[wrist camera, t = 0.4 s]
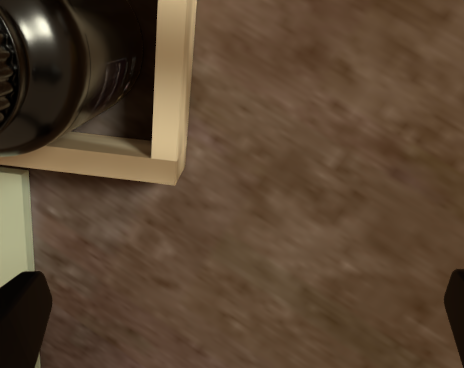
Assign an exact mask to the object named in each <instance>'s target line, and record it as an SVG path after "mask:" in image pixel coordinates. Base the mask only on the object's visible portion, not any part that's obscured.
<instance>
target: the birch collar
mask: <svg viewBox="0 0 464 368" xmlns="http://www.w3.org/2000/svg"><path fill="white" fill-rule="evenodd" d="M196 5H197V0H158V11H157V35H156V58H155V82H154V105H153V128H152V141H147V140H138V139H130V138H121V137H113V136H104V135H96V134H87V133H79V132H68V133H67V134H65V135H63V136H62V137H60V138H58V139H57V140H55V141H53V142H52V143H50V144H48V145H46V146H44V147H42V148H40V149H37V150H35V151H32V152H29V153H26V154H22V155H16V156H8V157H0V165H9V166H17V167H25V168H34V169H42V170H51V171H59V172H68V173H76V174H84V175H93V176H101V177H110V178H118V179H126V180H135V181H143V182H152V183H160V184H168V185H175V184H176V183H177V181H178V179H179V177H180V175H181V173H182V171H183V169H184V167H185V159H186V145H187V131H188V117H189V103H190V89H191V75H192V61H193V47H194V33H195V19H196Z"/></svg>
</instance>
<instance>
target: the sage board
mask: <svg viewBox="0 0 464 368" xmlns="http://www.w3.org/2000/svg"><path fill="white" fill-rule="evenodd" d="M24 271H35V268H34V251H33V234H32V218H31V201H30V184H29V170H22V169H14V168H5V167H0V287H2V286H3V285H4V284H6V283H7V282H9V281H10V280H11V279H13V278H14V277H15V276H17V275H18V274H20V273H21V272H24ZM35 368H40V352H39V355H38V359H37V362H36V366H35Z"/></svg>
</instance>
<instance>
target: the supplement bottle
mask: <svg viewBox="0 0 464 368" xmlns="http://www.w3.org/2000/svg"><path fill="white" fill-rule="evenodd" d="M142 60H143V39H142V33H141V29H140V26H139V23H138V20H137V18H136V15H135V13H134V11H133V9H132V8H131V6H130V5H129V3H128V2H127V0H0V157H8V156H16V155H22V154H26V153H29V152H32V151H35V150H37V149H40V148H42V147H44V146H46V145H48V144H50V143H52V142H53V141H55V140H57V139H58V138H60V137H62V136H63V135H65V134H67V133H68V132H70V131H72V130H73V129H75V128H77V127H78V126H80V125H82V124H83V123H85V122H87V121H88V120H90V119H92V118H93V117H95V116H97V115H98V114H100V113H102V112H103V111H105V110H107V109H108V108H110V107H111V106H113V105H114V104H116V103H117V102H119V101H120V100H121V99H122V98H123V97H124V96H125V95H126V94H127V93H128V92H129V91H130V89H131V88H132V87H133V85H134V83H135V82H136V80H137V78H138V75H139V72H140V69H141V65H142Z"/></svg>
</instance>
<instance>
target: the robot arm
mask: <svg viewBox="0 0 464 368" xmlns="http://www.w3.org/2000/svg"><path fill="white" fill-rule="evenodd" d="M444 305H445V309H446V312H447V316H448V319H449V322H450V325H451V329H452V332H453V335H454V339H455V342H456V345H457V349H458V352H459V355H460V359H461V362H462V365H463V368H464V269H456V270H454V271H453V272H452V274H451V277H450V280H449V283H448V286H447V289H446V292H445V296H444ZM51 308H52V295H51V293H50V290H49V287H48V284H47V281H46V279H45V276H44V274H43V273H42V272H40V271H24V272H21V273H20V274H18V275H17V276H15V277H14V278H13V279H11V280H10V281H9V282H7V283H6V284H4V285H3V286H2V287H0V368H35V366H36V362H37V359H38V355H39V352H40V348H41V344H42V341H43V337H44V334H45V330H46V326H47V323H48V319H49V316H50V312H51Z"/></svg>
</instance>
